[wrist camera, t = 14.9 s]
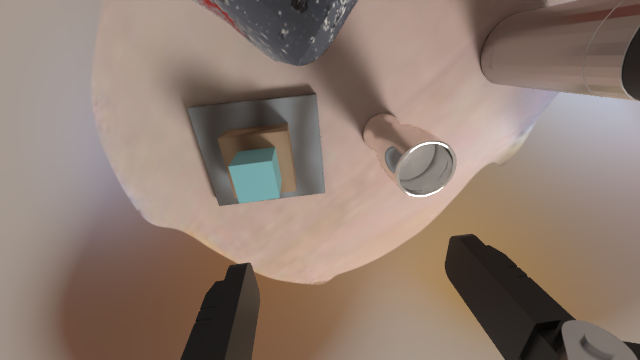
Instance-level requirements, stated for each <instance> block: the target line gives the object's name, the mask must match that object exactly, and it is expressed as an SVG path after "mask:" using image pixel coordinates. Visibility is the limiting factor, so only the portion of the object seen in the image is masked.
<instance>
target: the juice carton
mask: <svg viewBox="0 0 640 360" xmlns="http://www.w3.org/2000/svg"><path fill="white" fill-rule="evenodd" d="M193 1H194V2H196V3H197V4H199V5H200V6H202V7H204V8H205V9H207V10H208V11H210V12H212V13H213V14H215V15H216V16H218V17H220V18H221V19H223V20H224V21H226V22H227V23H228V24H229V25H231V26H232V27H233V28H234V29H236V30H237V31H238V32H239V33H240V34H241V35H242V36H244V37H245V38H246V39H247V40H248V41H249V42H250V43H252V44H253V45H254V46H255V47H257V48H258V49H259V50H260V51H262V52H263V53H264V54H266V55H267V56H269V57H270V58H272V59H273V60H275V61H280V62H284V63H288V64H292V65H296V66H301V65H306V64H309V63H311V62H313V61H315V60H316V59H317V58H318V57H320V56H321V55H322V54H323V53H324V52H325V51H326V49H327V48H328V47H329V46H330V44H331V43H332V42H333V40H334V39H335V37H336V36H337V34H338V32H339V30H340V29H341V27H342V25H343V24H344V22H345V20H346V19H347V17H348V15H349V14H350V12H351V10H352V9H353V7H354V6H355V4H356V3H357V1H358V0H193Z"/></svg>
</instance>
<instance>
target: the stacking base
mask: <svg viewBox="0 0 640 360" xmlns="http://www.w3.org/2000/svg"><path fill="white" fill-rule="evenodd" d="M187 110H188V113H189V116H190V119H191V122H192V125H193V128H194V131H195V134H196V137H197V140H198V143H199V146H200V149H201V152H202V155H203V158H204V161H205V164H206V167H207V170H208V173H209V177H210V180H211V183H212V186H213V189H214V192H215V195H216V198H217V201H218V204H219V206H223V205H231V204H239V201H238V197H237V194H236V191H235V188H234V184H233V181H232V178H231V174H230V171H229V168H228V166H229V165H230V163H231V161H232V160H233V158H234V157H235V155H236V154H237V152H240V151H248V150H256V149H263V148H271V147H275V148H276V154H277V159H278V164H279V169H280V174H281V179H282V182H281V190H280V198H287V197H296V196H304V195H312V194H320V193H325V183H324V172H323V161H322V150H321V140H320V129H319V118H318V107H317V96H316V93H315V94H306V95H296V96H287V97H278V98H268V99H259V100H250V101H240V102H231V103H222V104H212V105H203V106H194V107H189V108H187ZM276 199H279V198H276ZM269 200H271V199H269ZM261 201H263V200H261ZM254 202H255V201H254ZM246 203H247V202H246Z"/></svg>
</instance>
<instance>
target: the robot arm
mask: <svg viewBox="0 0 640 360" xmlns="http://www.w3.org/2000/svg"><path fill="white" fill-rule="evenodd" d="M481 67H482V71H483V74H484V75H485V77H486V78H487V79H488V80H489V81H490V82H492V83H495V84H500V85H508V86H516V87H523V88H532V89H540V90H549V91H557V92H566V93H576V94H583V95H591V96H600V97H611V98H618V99H627V100H635V101H640V0H577V1H572V2H568V3H563V4H558V5H554V6H549V7H543V8H539V9H534V10H530V11H525V12H520V13H517V14H513V15H511V16H509V17H507V18H506V19H504V20H503V21H501V22H500V23H499V24H498V25H497V26H496V27H495V28H494V29H493V31H492V32H491V33H490V35H489V36H488V38H487V40H486V42H485V44H484V47H483V51H482V55H481ZM445 270H446V274H447V276H448V278H449V280H450V281H451V283H452V284H453V286H454V287H455V289H456V290H457V291H458V293H459V294H460V296H461V297H462V299H463V300H464V302H465V303H466V304H467V306H468V307H469V309H470V310H471V312H472V313H473V314H474V316H475V317H476V319H477V320H478V322H479V323H480V324H481V326H482V327H483V328H484V330H485V332H486V333H487V334H488V336H489V337H490V339H491V340H492V342H493V343H494V344H495V346H496V347H497V349H498V350H499V352H500V353H501V354H502V356H503V357H504V359H505V360H640V344H637V343H631V342H624V341H621V340H620V339H619V338H617V337H616V336H615V335H613V334H611V333H610V332H608V331H606V330H605V329H603V328H601V327H599V326H596V325H594V324H591V323H588V322H585V321H580V320H576V319H574V318H573V317H572V316H571V315H570V314H569V313H567V311H565V310H564V309H563V308H562V307H561V306H560V305H559V304H558V303H557V302H556V301H555V300H554V299H553V298H551V297H550V296H549V295H548V294H547V293H546V292H545V291H544V290H543V289H542V288H541V287H540V286H539V285H538V284H536V283H535V282H534V281H533V280H532V279H531V278H530V277H529V278H528V277H527V274H526V273H525V272H523V271H522V270H521V269H520V268H518V267H517V265H516V264H515V263H514V262H513V261H512V260H511V259H509V258H508V257H507V256H506V255H505V254H504V253H502V252H500V251H498V250H497V249H495V248H493V247H491V246H490V245H487V246H486V245H484V243H482V241H480V240H479V239H478V238H477V237H476V236H475V235H473V234H466V235H459V236H452V237H451V238H450V240H449V245H448V251H447V256H446V261H445ZM259 305H260V294H259V288H258V285H257V281H256V278H255V275H254V271H253V268H252V265H251V263H243V264H236V265H230V266H229V268H228V270H227V273H226V276H225V279H224V280H223V281H217V282H215V283H214V285H213V286H212V287H211V288H210V290H209V291H208V292H207V293H206V295H205V298H204V300H203V303H202V305H201V308H200V311H199V313H198V316H197V318H196V323H195V324H194V326H193V329H192V331H191V334H190V336H189V339H188V342H187V344H186V347H185V350H184V352H183V355H182V357H181V360H251V359H252V352H253V345H254V338H255V332H256V325H257V318H258V311H259Z"/></svg>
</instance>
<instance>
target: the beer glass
mask: <svg viewBox="0 0 640 360" xmlns="http://www.w3.org/2000/svg"><path fill="white" fill-rule="evenodd" d="M363 138H364V141H365V143H366V145H367V146H368V147H369V148H370V149H372V150H374V151H375V153H376V156H377V159H378V161H379V163H380V165H381V167H382V169H383V170H384V172H385V173H386V174H387V176H388V177H389V178H390V179H391V180H392V181H393V182H394V183H395V184H396V185H397V186H398V187H399V188H400V189H401V190H402V191H403V192H404V193H406V194H408V195H410V196H414V197H424V196H428V195H431V194H434V193H436V192H438V191H439V190H441V189H442V188H443V187H444V186H446V185H447V183H448V182H449V181H450V180H451V178H452V176H453V174H454V172H455V169H456V155H455V153H454V151H453V149H452V148H451V147H450V146H449V145H448V144H446V143H444V142H443V141H442V140H440V139H439V138H438V137H436V136H435V135H433V134H432V133H430V132H428V131H427V130H425V129H422V128H420V127H417V126H414V125H409V124H403V123H400V122H399V121H398V120H397V119H396V118H395V117H394V116H392V115H390V114H378V115H376V116H374V117H372V118H371V119H370V120H369V121H368V122H367V124H366V125H365V127H364V131H363Z"/></svg>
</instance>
